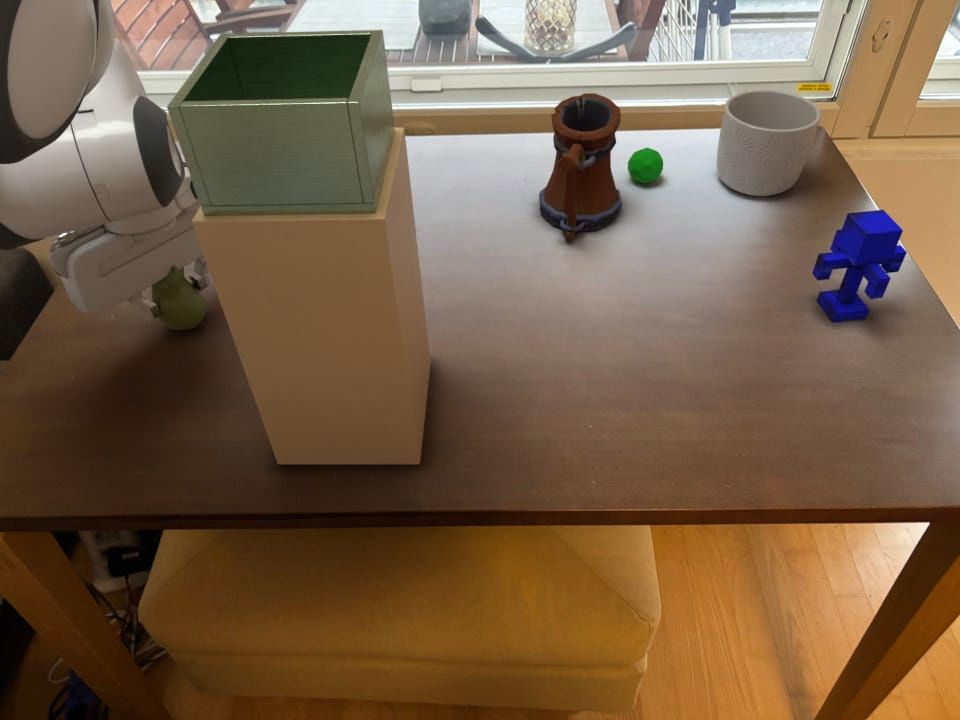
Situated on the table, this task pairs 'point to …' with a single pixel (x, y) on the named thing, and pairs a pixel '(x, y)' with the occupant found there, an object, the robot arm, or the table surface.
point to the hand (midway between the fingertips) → (178, 301)
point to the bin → (312, 239)
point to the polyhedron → (645, 165)
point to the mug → (582, 165)
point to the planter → (765, 140)
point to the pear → (178, 301)
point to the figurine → (859, 263)
